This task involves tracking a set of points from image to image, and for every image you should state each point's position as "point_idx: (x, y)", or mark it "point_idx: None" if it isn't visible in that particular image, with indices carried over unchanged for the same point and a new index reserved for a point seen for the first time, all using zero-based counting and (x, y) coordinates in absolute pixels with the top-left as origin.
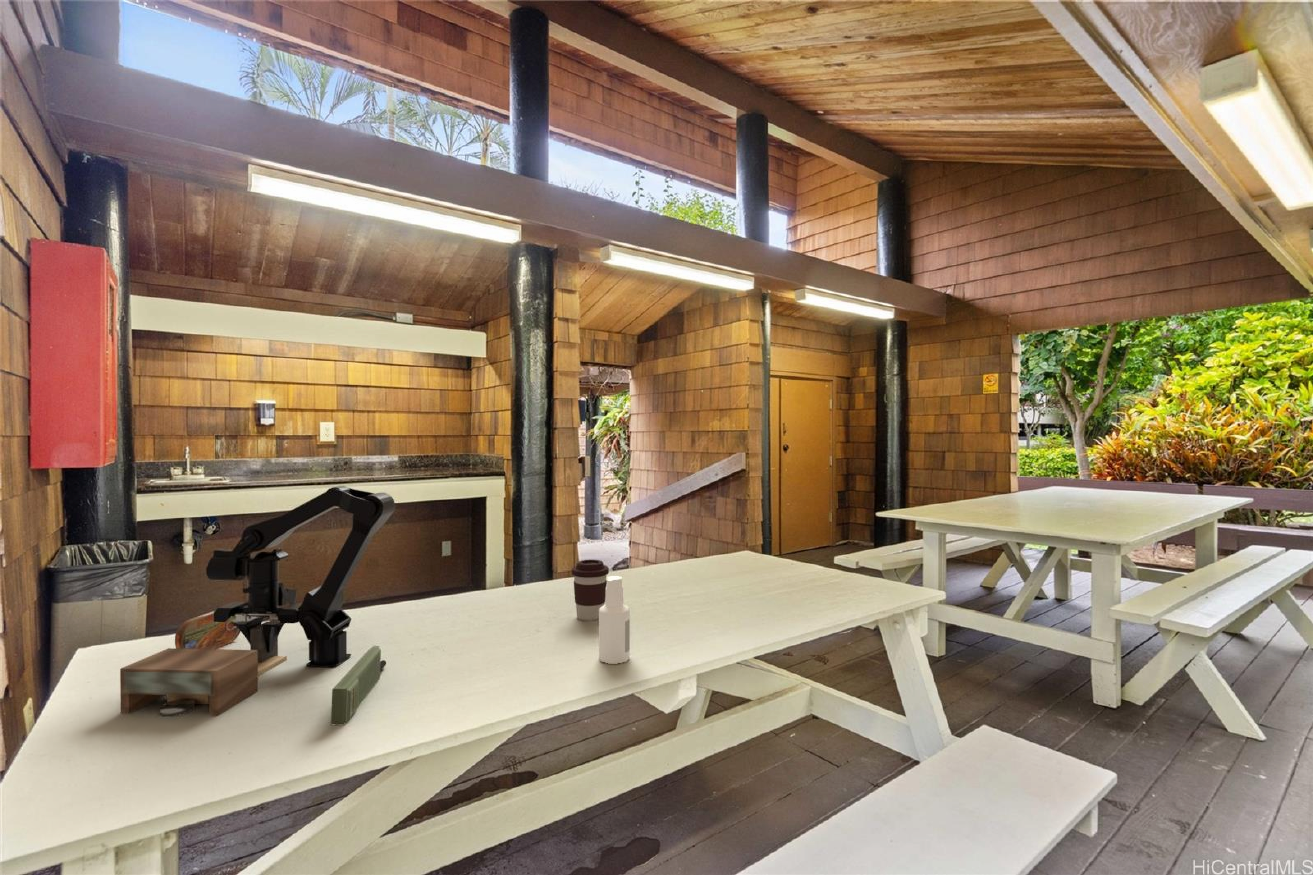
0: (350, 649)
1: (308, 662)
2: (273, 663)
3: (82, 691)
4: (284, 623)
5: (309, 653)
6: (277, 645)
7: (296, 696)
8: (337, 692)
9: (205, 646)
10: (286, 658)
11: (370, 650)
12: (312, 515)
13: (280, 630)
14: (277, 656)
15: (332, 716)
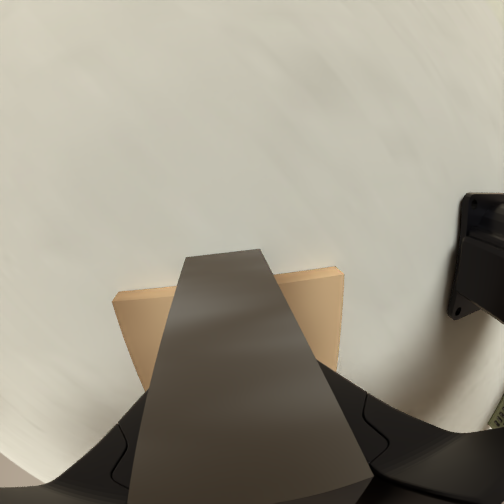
0: (492, 115)
1: (454, 302)
2: (336, 366)
3: (14, 457)
4: (478, 438)
5: (477, 304)
6: (276, 285)
7: (452, 419)
8: None
9: None
10: (338, 271)
11: None
12: None
13: (407, 417)
14: (293, 292)
15: (493, 428)
